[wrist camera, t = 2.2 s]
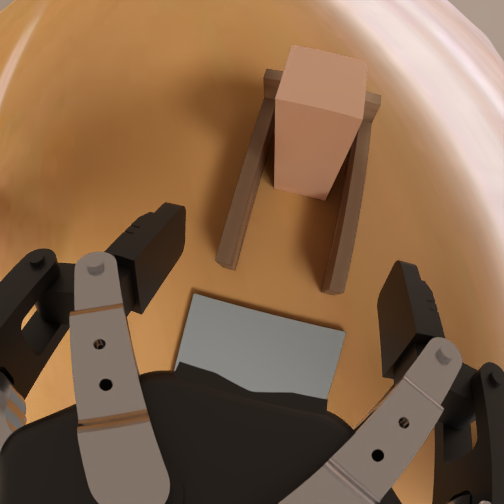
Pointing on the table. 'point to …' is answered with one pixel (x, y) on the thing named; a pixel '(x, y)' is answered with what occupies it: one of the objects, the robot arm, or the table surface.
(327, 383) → the mat
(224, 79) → the table surface
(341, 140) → the block
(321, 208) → the table surface
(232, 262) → the brown u-shaped rail
